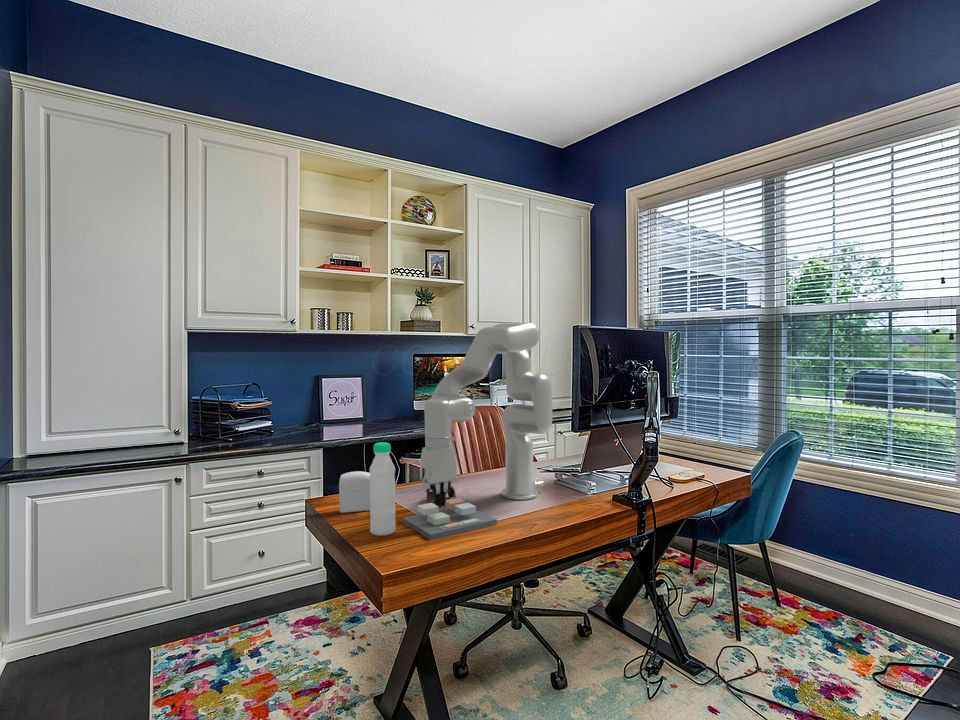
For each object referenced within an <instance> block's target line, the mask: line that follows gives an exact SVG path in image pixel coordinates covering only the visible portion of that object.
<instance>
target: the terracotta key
mask: <svg viewBox="0 0 960 720" xmlns="http://www.w3.org/2000/svg"><path fill="white" fill-rule="evenodd" d="M464 503H466V502H465V500H462V499H461V498H459V497H456V498H453V497H452V498H449V499H446V502H445V506H444V507H445V509H450V510H453V509H454V505H459V504H464ZM444 507H443V508H444Z"/></svg>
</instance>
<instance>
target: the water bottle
mask: <svg viewBox="0 0 960 720" xmlns="http://www.w3.org/2000/svg"><path fill="white" fill-rule="evenodd" d="M391 450H392V446H391V444H390V442H384V441H383V442H376V443H374V444H373V454H374V455H375V456H374V457H373V459H372V463H371V465H370V467H369V473H370V505H371V508H370V510H369V517H370V520H369V521H370V522H369V524H370V525H369V531H370V534H371V535H374V536H376V537H377V536H379V537H384V536H385V537H386V536H389V535H390V536H391V535H392V534H393V533H395V532H396V529H397V527H396V526H397V525H396V505H395V504H396V477H395V473H396V467H395V464H394V463H393V460H392V458H391V455H390V453H391Z"/></svg>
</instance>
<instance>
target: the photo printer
mask: <svg viewBox="0 0 960 720" xmlns="http://www.w3.org/2000/svg"><path fill="white" fill-rule="evenodd" d="M338 491H339V493H338V494H339V495H338V497H339V512H340V513H341V514H342V513H343V514H345V513H355V512H364V511H370V508H371V505H370V472H367V471H362V470H361V471H360V470H359V471H358V470H355V471H350V472H345V473H342V474H341V475H340V477H339V483H338Z"/></svg>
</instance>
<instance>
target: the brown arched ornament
mask: <svg viewBox="0 0 960 720" xmlns="http://www.w3.org/2000/svg"><path fill="white" fill-rule="evenodd" d="M439 485H440V483H439ZM425 493H426V500H427V502H429V501H430V500H434V492H433V491H432V490H431V489H426V490H425ZM446 495H448V498H449V499H451V498H452V499H453V498H457V496H456V495H457V494H456V491H455V488H454V487H453V484H451V485H450V486H449V488H448V490H447V492H446Z"/></svg>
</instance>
